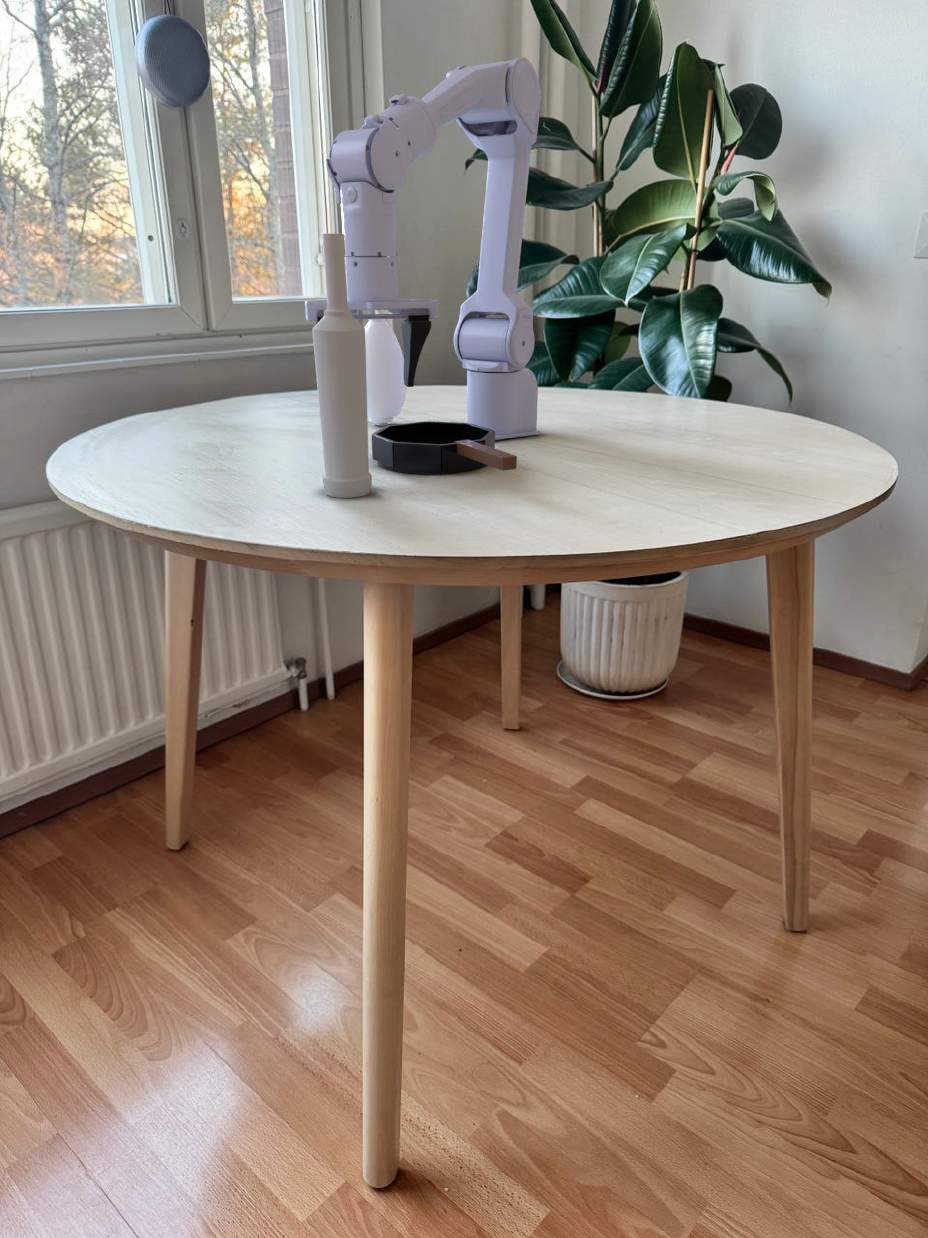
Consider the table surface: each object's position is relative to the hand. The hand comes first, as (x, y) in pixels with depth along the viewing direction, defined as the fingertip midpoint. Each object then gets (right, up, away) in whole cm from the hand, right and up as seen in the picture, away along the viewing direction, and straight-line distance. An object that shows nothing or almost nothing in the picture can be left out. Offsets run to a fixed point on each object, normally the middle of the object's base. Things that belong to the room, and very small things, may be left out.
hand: (375, 386), depth 95 cm
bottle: (-2, -13, -6) cm, 15 cm away
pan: (+9, -9, +3) cm, 13 cm away
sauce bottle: (-2, +2, +29) cm, 29 cm away
